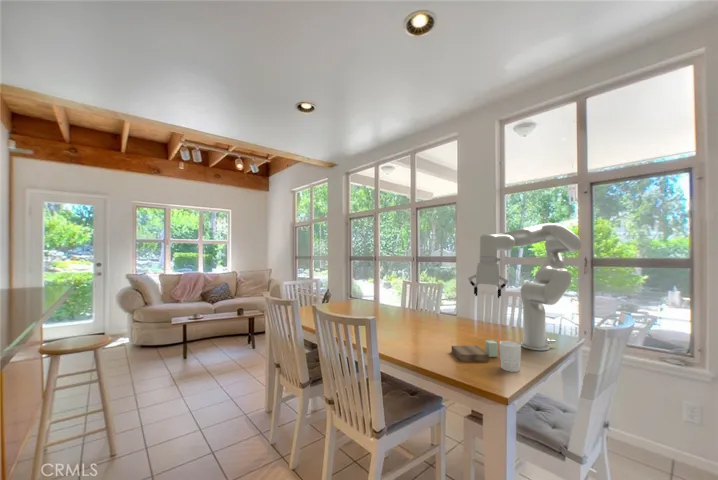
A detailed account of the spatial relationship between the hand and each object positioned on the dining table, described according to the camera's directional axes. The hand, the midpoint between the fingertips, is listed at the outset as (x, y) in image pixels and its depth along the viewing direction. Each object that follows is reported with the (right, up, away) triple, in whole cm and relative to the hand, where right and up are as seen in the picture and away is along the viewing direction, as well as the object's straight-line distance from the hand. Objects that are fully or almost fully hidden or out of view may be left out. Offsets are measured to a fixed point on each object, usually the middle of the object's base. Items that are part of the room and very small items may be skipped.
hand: (487, 296), depth 143 cm
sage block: (0, -26, -5) cm, 26 cm away
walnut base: (-11, -26, -7) cm, 29 cm away
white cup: (0, -25, -21) cm, 33 cm away
